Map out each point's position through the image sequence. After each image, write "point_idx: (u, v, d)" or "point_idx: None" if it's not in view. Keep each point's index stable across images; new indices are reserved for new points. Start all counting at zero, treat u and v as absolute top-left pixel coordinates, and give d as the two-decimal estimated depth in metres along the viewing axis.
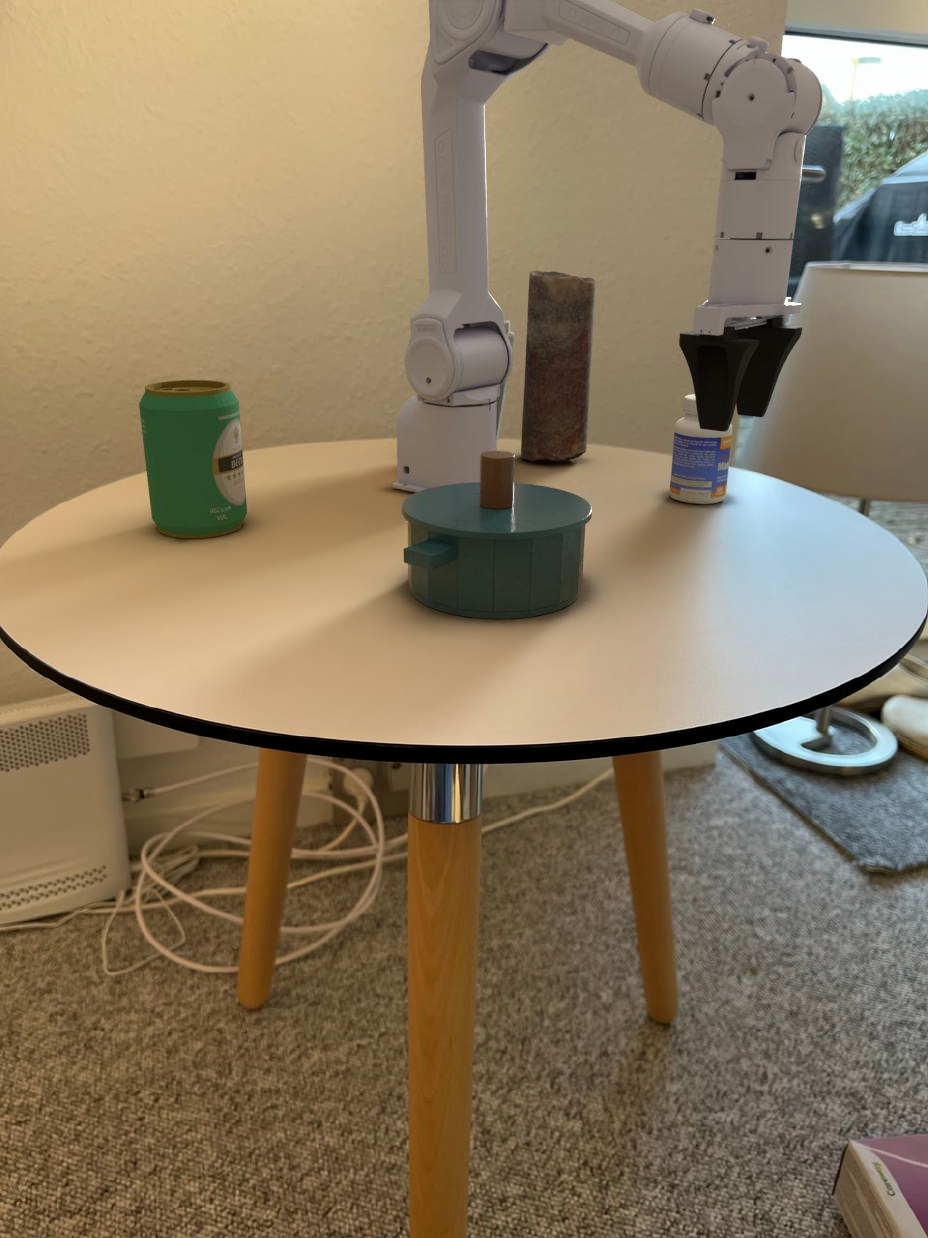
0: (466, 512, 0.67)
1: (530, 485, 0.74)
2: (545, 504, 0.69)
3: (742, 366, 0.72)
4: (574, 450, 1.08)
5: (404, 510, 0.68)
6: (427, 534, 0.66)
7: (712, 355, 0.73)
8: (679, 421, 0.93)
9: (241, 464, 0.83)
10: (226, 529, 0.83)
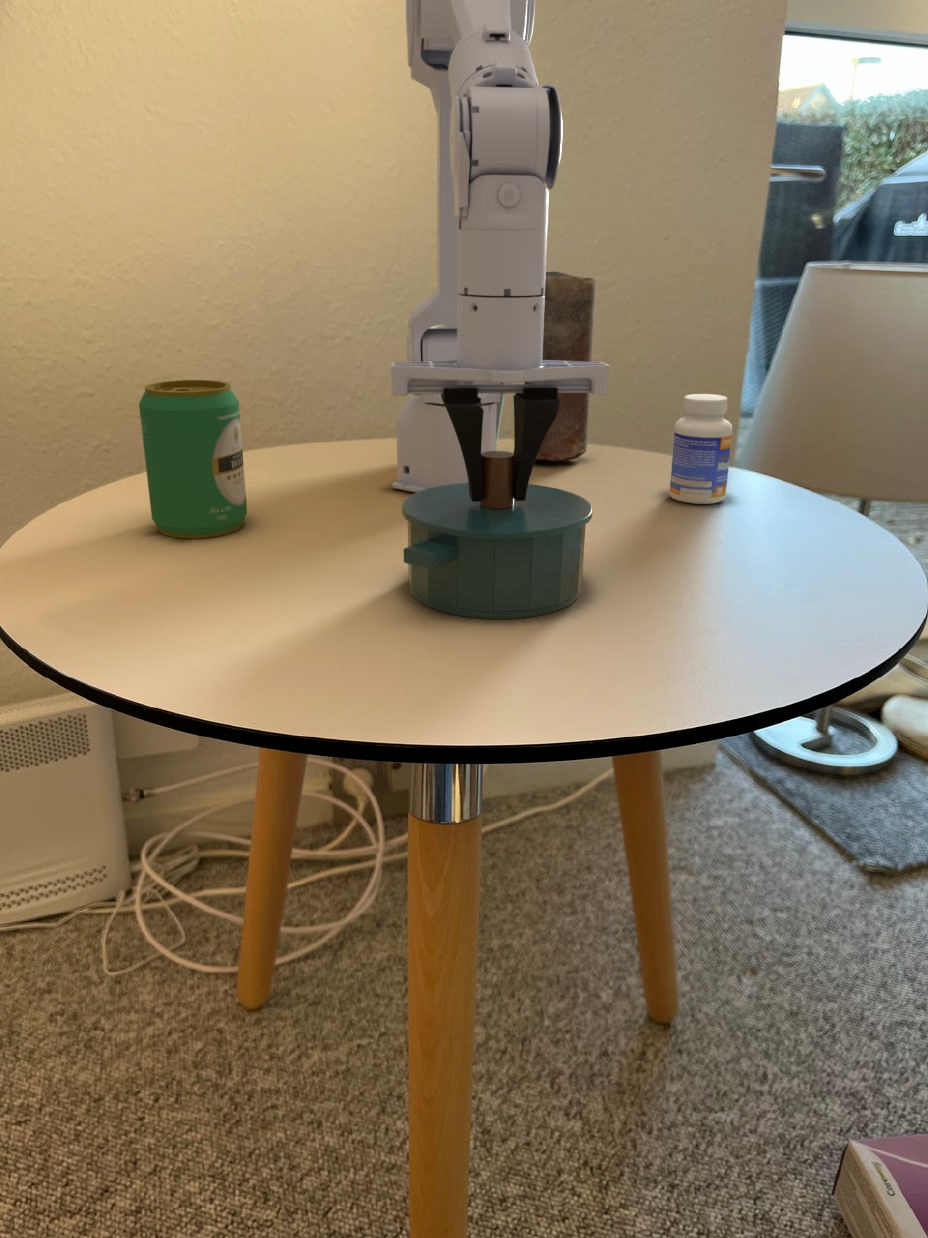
0: (466, 512, 0.67)
1: (530, 485, 0.74)
2: (546, 504, 0.69)
3: (467, 432, 0.65)
4: (574, 450, 1.08)
5: (404, 510, 0.68)
6: (427, 534, 0.66)
7: None
8: (679, 421, 0.93)
9: (241, 464, 0.83)
10: (226, 529, 0.83)
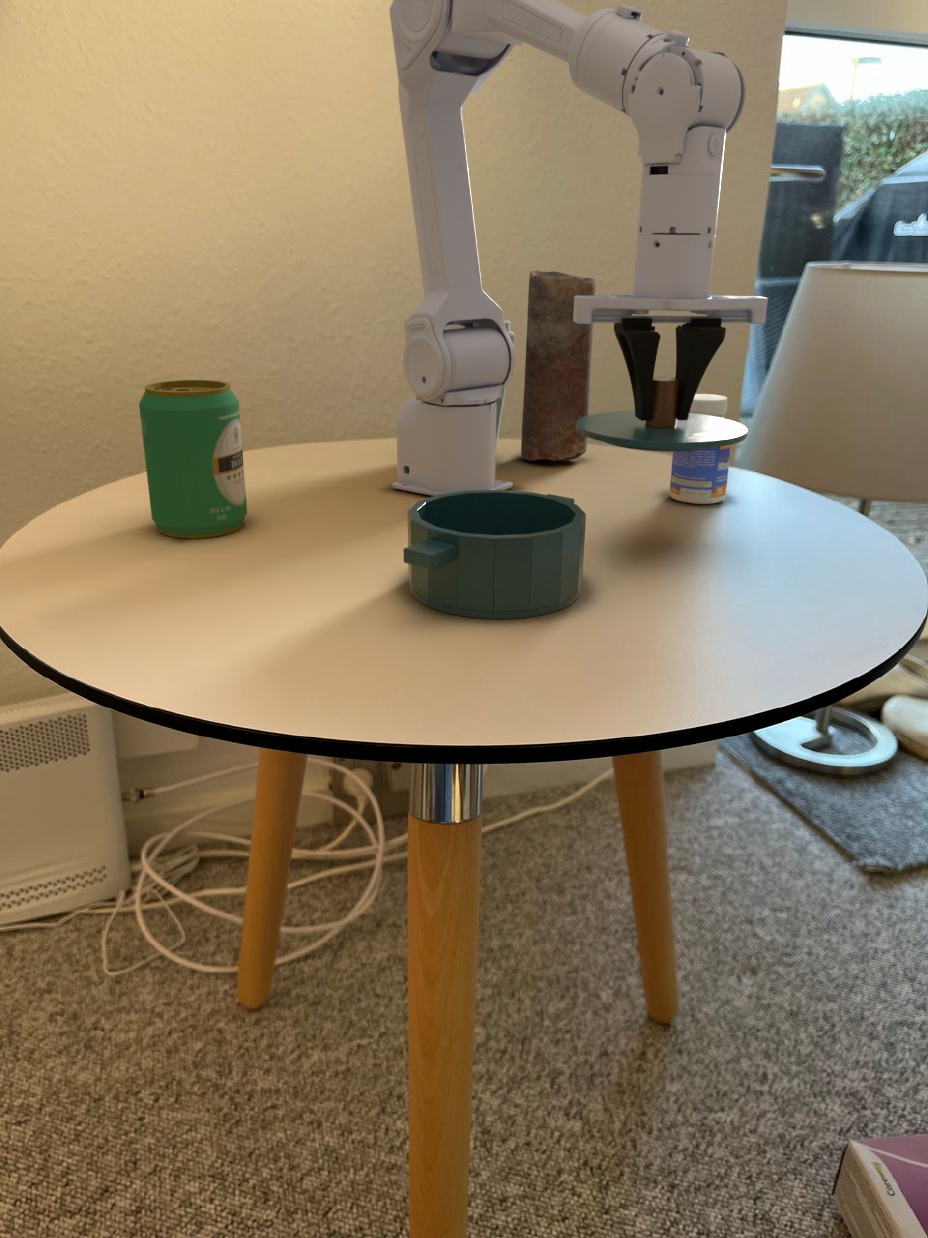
0: (637, 429, 0.76)
1: None
2: (703, 424, 0.78)
3: (643, 357, 0.74)
4: (574, 450, 1.08)
5: (582, 428, 0.76)
6: (427, 534, 0.66)
7: None
8: None
9: (241, 464, 0.83)
10: (226, 529, 0.83)
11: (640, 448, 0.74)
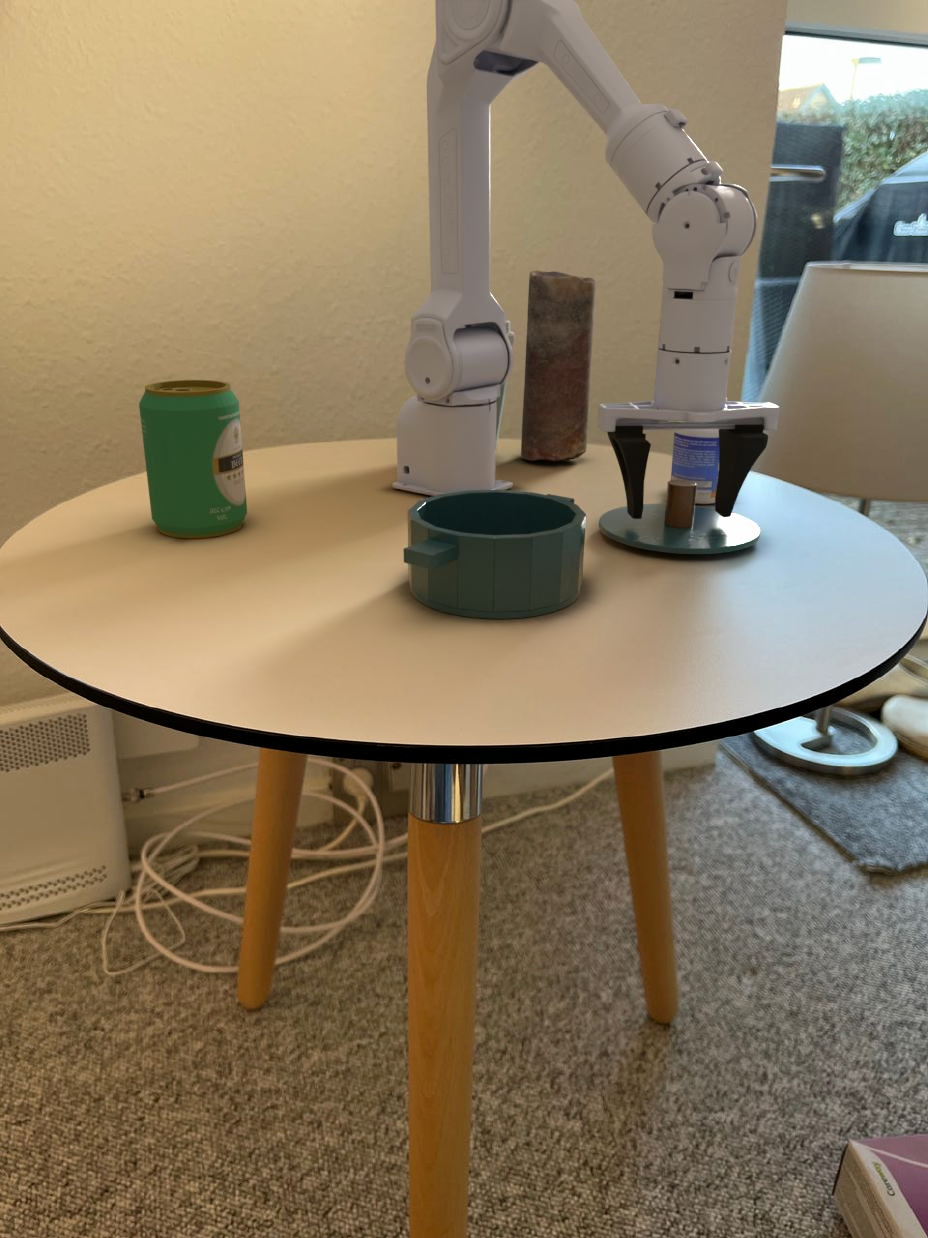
0: (657, 531, 0.81)
1: (696, 506, 0.89)
2: (719, 523, 0.83)
3: (635, 462, 0.79)
4: (574, 450, 1.08)
5: (605, 529, 0.82)
6: (427, 534, 0.66)
7: None
8: (679, 421, 0.93)
9: (241, 464, 0.83)
10: (226, 529, 0.83)
11: None
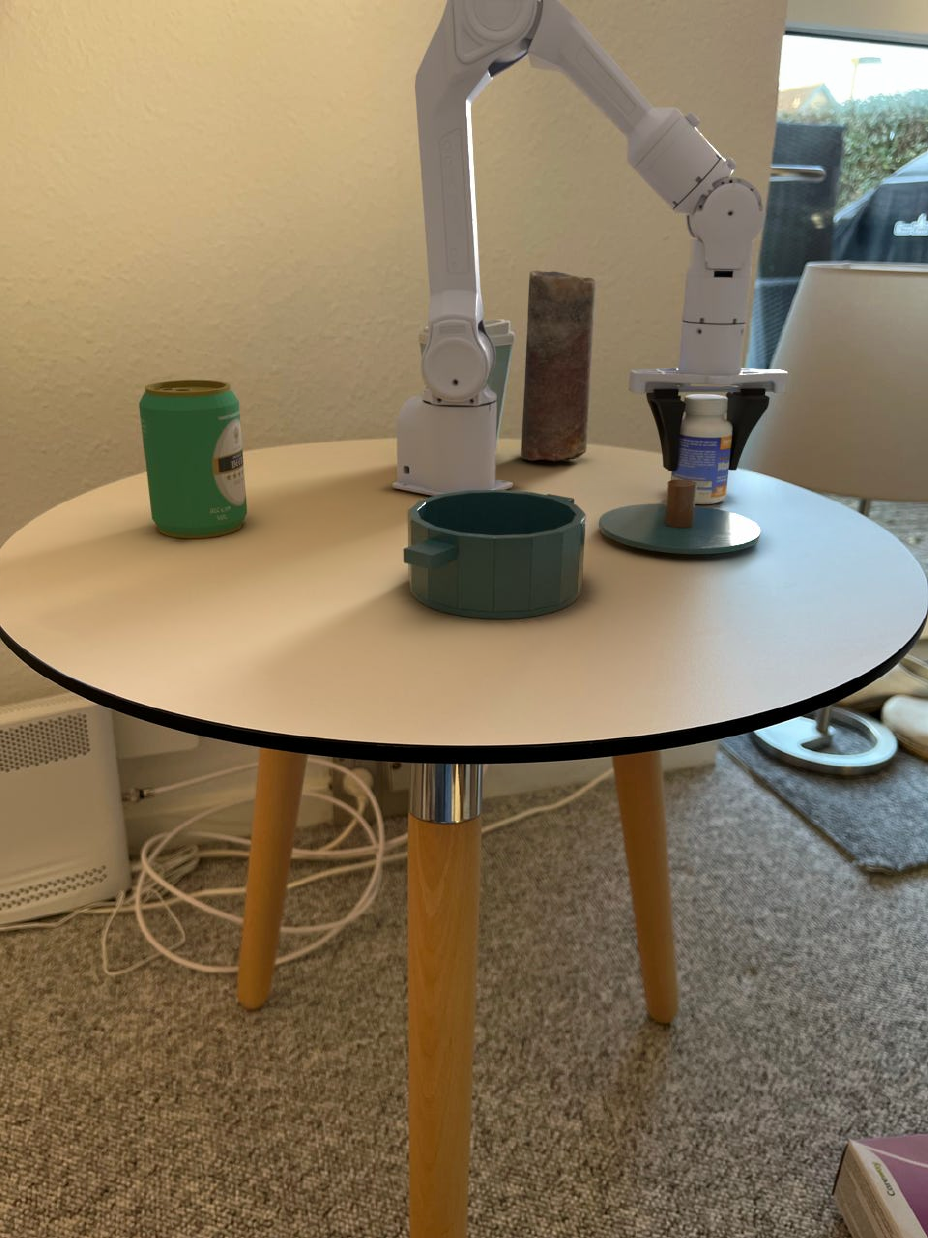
0: (657, 531, 0.81)
1: (696, 506, 0.89)
2: (719, 523, 0.83)
3: (672, 420, 0.90)
4: (574, 450, 1.08)
5: (605, 529, 0.82)
6: (427, 534, 0.66)
7: None
8: None
9: (241, 464, 0.83)
10: (226, 529, 0.83)
11: None
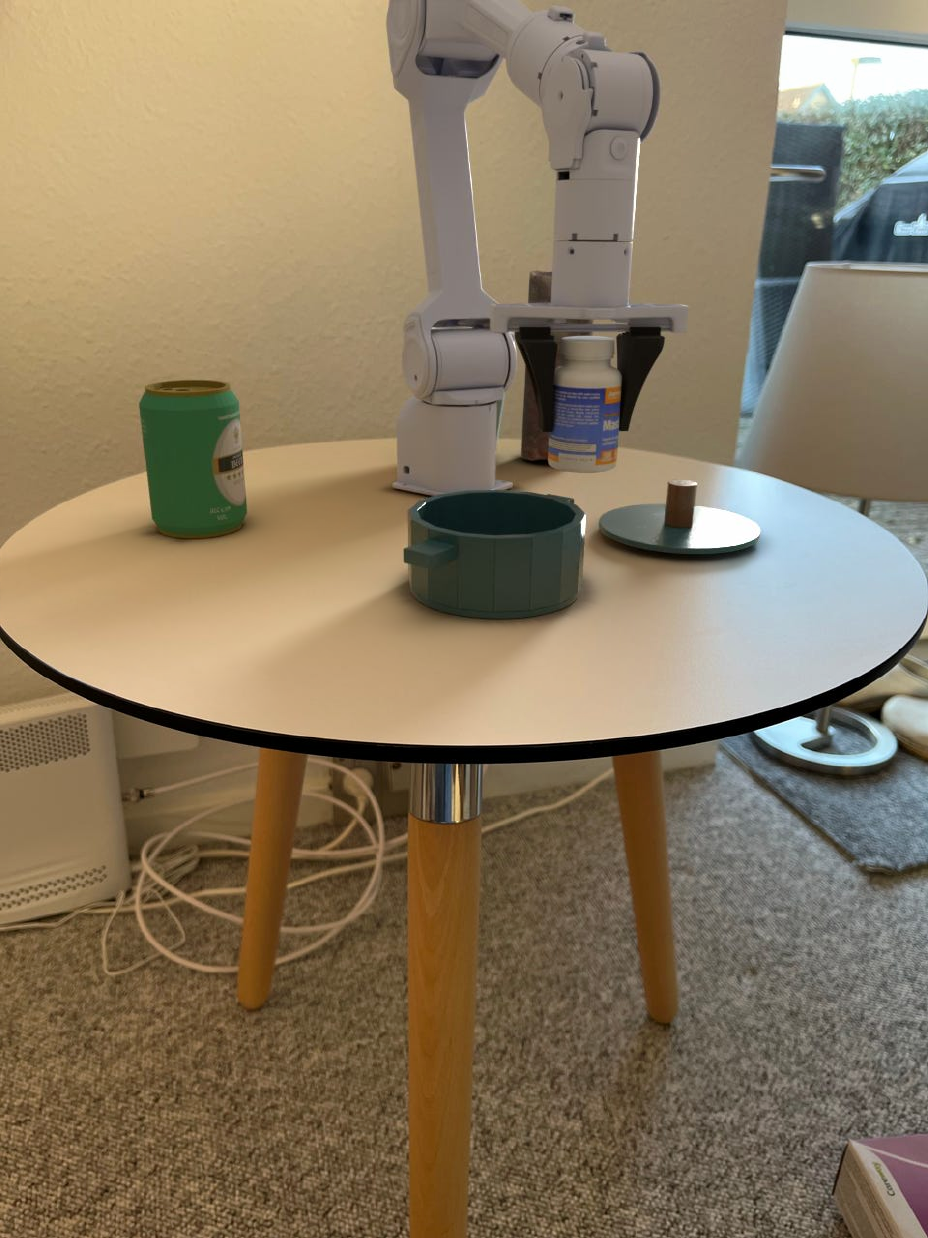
0: (657, 531, 0.81)
1: (696, 506, 0.89)
2: (719, 523, 0.83)
3: (542, 366, 0.72)
4: None
5: (605, 529, 0.82)
6: (427, 534, 0.66)
7: None
8: (556, 369, 0.74)
9: (241, 464, 0.83)
10: (226, 529, 0.83)
11: None
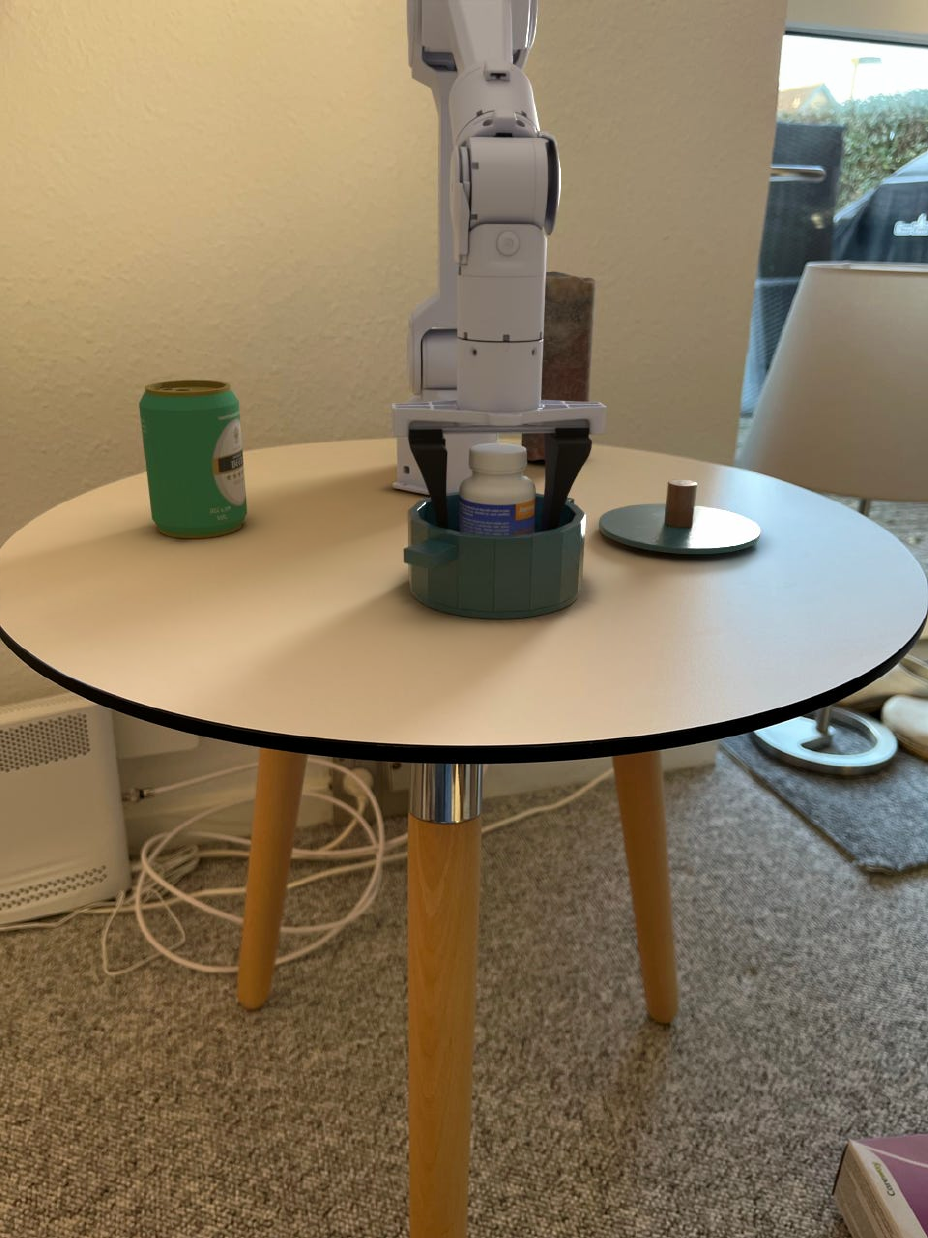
0: (657, 531, 0.81)
1: (696, 506, 0.89)
2: (719, 523, 0.83)
3: (432, 473, 0.66)
4: None
5: (605, 529, 0.82)
6: (427, 534, 0.66)
7: None
8: (464, 480, 0.68)
9: (241, 464, 0.83)
10: (226, 529, 0.83)
11: None
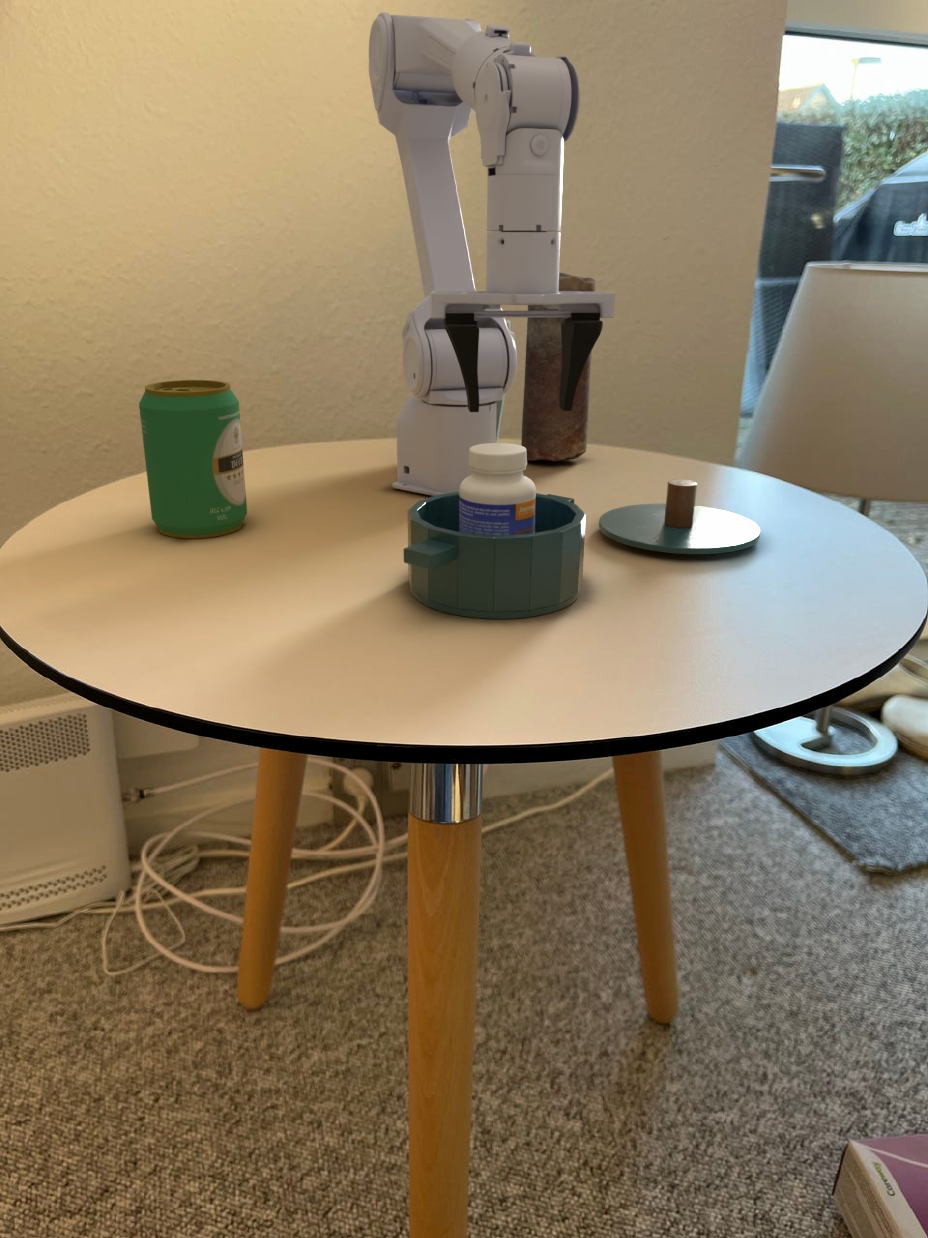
0: (657, 531, 0.81)
1: (696, 506, 0.89)
2: (719, 523, 0.83)
3: (466, 350, 0.77)
4: (574, 450, 1.08)
5: (605, 529, 0.82)
6: (427, 534, 0.66)
7: None
8: (464, 480, 0.68)
9: (241, 464, 0.83)
10: (226, 529, 0.83)
11: None
